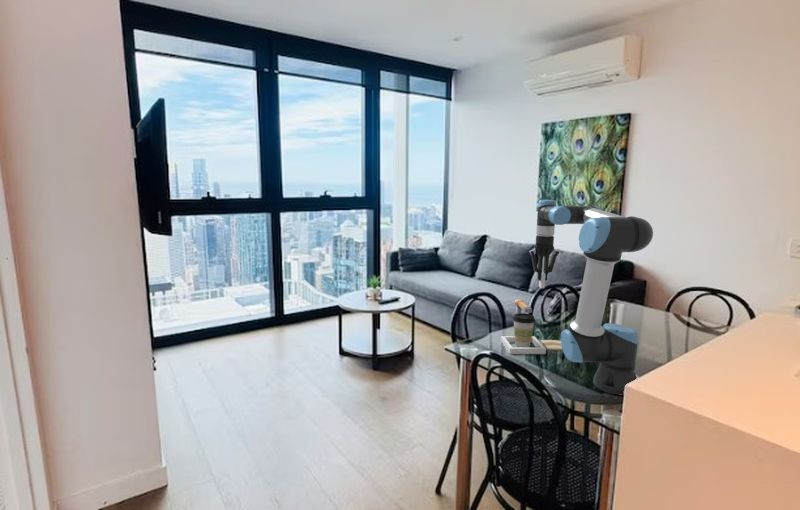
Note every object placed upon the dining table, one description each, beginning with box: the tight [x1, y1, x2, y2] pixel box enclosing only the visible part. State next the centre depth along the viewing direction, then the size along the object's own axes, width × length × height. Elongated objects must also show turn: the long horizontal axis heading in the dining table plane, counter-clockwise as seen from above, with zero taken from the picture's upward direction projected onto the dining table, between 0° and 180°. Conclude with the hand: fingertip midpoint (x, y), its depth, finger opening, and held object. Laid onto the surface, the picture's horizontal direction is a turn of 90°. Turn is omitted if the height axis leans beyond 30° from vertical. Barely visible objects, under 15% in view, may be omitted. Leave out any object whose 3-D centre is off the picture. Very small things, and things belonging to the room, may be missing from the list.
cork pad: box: [539, 339, 563, 352], centre depth 209 cm, size 12×12×1 cm
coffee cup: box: [512, 312, 536, 347], centre depth 205 cm, size 10×10×15 cm
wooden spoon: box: [514, 299, 533, 314], centre depth 206 cm, size 16×4×2 cm, turn 2°
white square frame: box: [500, 305, 547, 355], centre depth 206 cm, size 18×16×18 cm
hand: (541, 287), depth 201 cm, fingers closed
